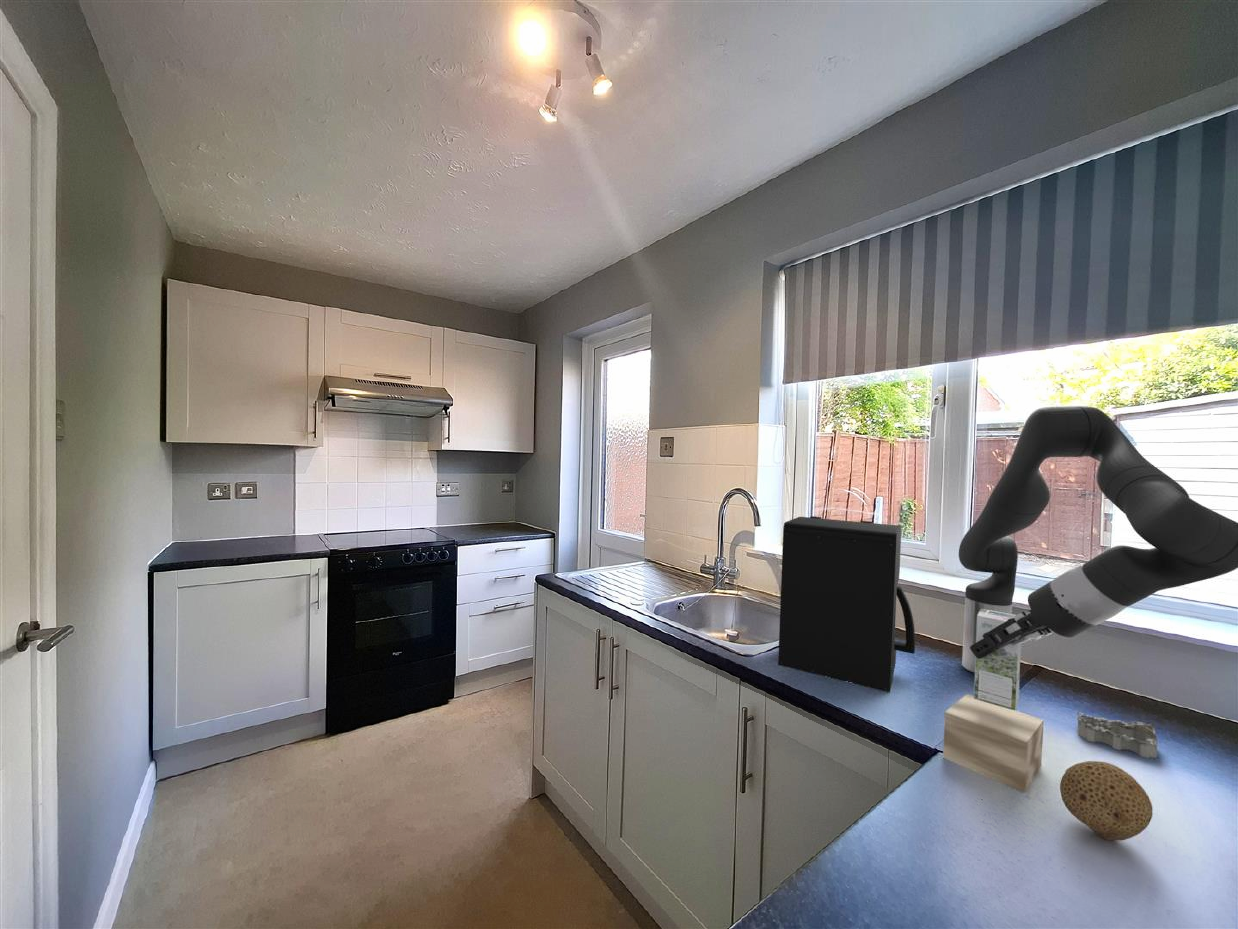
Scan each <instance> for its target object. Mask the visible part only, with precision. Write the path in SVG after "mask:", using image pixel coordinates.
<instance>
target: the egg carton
mask: <svg viewBox="0 0 1238 929" xmlns="http://www.w3.org/2000/svg"><path fill="white" fill-rule="evenodd" d="M1076 716H1077V719H1076V720H1077V736H1080V737H1082V738H1084V739H1086V741H1089V742H1092V743H1095V742H1096V743H1097V742H1098V743H1103V744H1106V745H1108V746H1110V747H1111V748H1113V749H1115V750H1118V751H1121V750H1127V751H1131V752H1133V753H1135V754H1137V755H1139V757H1142V758H1146V759H1149V758H1154V759H1155V758H1157V757H1158V748H1159V742H1158V738H1157V735H1156V731H1155V727H1154V724H1148V723H1146V722H1140V721H1138V720H1129V722H1125V721H1122V720H1120V719H1117V720H1113V719H1107V718H1105V717H1100V716H1091V715H1087V714H1086V713H1082V712H1079V711H1077V714H1076Z"/></svg>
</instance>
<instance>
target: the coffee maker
mask: <svg viewBox="0 0 1238 929" xmlns="http://www.w3.org/2000/svg"><path fill="white" fill-rule="evenodd" d="M782 530H783V531H782V552H781V577H780V578H781V580H780V583H781V584H780V603H779V605H780V608H779V610H780V611H779V631H778V632H779V634H778V660H777V661H778V662H777V665H778V666H782V667H786V668H790V669H793V670H797V671H801V672H805V673H808V674H809V673H810V674H814V675H817V676H821V675H822V677H825V676H827V677H826V678H829V677H830V679H833V678H834V679H833V680H837V679H838V681H841V682H845V681H848V682H847V683H849V682H852V683H851V684H853V683H854V684H853V685H857V684H858V686H862V687H866V688H869V687H870V688H869V689H873V688H874V690H877V689H878V691H881V690H882V691H881V692H885V691H886V693H889V694H890V693H891V689H892V684H893V683H892V682H893V679H894V675H895V674H894V673H895V670H896V665H895V664H896V663H897V662H896V661H897V651H898V652H904V653H907V654H912V655H913V654H915V653H916V630H915V629H916V628H915V623H914V616H913V612H912V609H911V608H912V607H911V606H910V603H909V600H908V599H907V596H906V593H905V592H904V590H903V588H902V587H901V586H898V583H899V581H900V580H899V579H900V572H901V571H900V569H901V549H902V547H901V545H902V525H898V524H888V523H887V524H885V523H876V522H875V523H874V522H873V521H870V520H860V521H852V520H841V519H832V518H822V517H821V516H812V515H811V516H798V517H795V518H793V519H790V520H788V521H785V522H784V523H783V529H782ZM897 599H898V602H899V604H900V607H901V610H902V615H903V619H904V620H903V621H904V628H905V629H904V630H905V642H900V641H896V640H895V636H896V615H897V614H896V612H897ZM894 669H895V670H894Z"/></svg>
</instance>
